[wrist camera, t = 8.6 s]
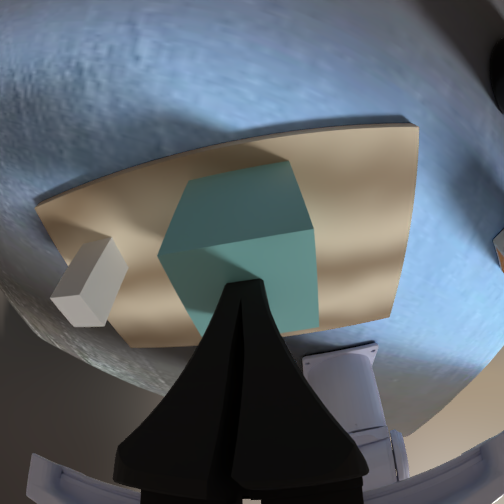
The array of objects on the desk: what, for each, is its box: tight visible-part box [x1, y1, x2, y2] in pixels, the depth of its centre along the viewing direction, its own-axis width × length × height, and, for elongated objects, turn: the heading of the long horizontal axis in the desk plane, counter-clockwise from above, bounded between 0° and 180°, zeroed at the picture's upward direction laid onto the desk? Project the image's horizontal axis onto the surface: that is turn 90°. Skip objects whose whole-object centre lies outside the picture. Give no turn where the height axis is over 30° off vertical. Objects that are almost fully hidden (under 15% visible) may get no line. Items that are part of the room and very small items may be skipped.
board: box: [35, 123, 419, 348], centre depth 18 cm, size 16×24×1 cm, turn 101°
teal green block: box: [157, 161, 319, 337], centre depth 13 cm, size 5×5×6 cm
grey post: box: [50, 237, 129, 327], centre depth 15 cm, size 3×3×5 cm
